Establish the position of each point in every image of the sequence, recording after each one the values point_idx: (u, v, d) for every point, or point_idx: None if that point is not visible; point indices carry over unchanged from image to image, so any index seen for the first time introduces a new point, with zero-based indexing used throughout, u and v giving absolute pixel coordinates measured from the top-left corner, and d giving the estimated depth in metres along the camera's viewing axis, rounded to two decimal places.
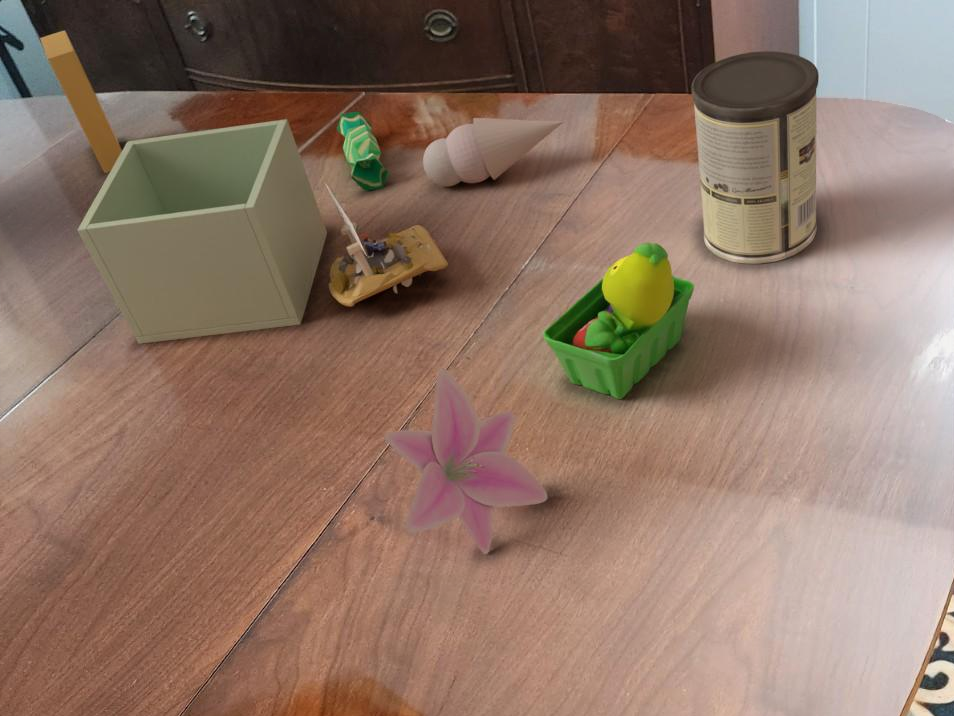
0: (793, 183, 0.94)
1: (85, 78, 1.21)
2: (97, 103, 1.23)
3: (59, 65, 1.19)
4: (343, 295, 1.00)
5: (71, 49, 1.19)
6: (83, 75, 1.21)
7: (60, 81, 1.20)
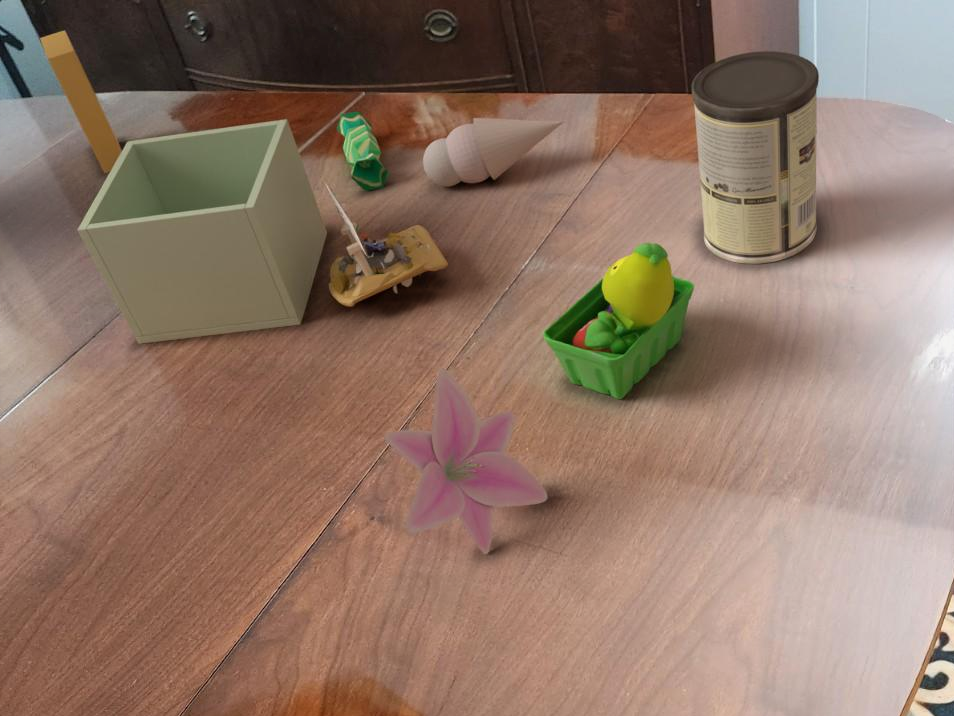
0: (793, 183, 0.94)
1: (85, 78, 1.21)
2: (97, 103, 1.23)
3: (59, 65, 1.19)
4: (343, 295, 1.00)
5: (71, 49, 1.19)
6: (83, 75, 1.21)
7: (60, 81, 1.20)
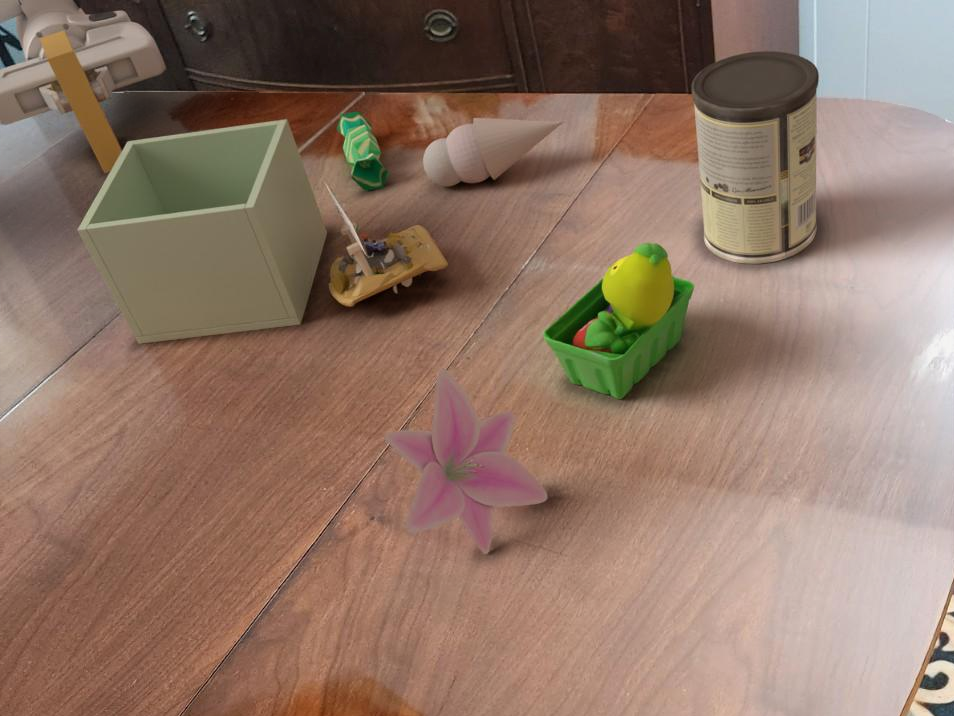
0: (793, 183, 0.94)
1: (85, 78, 1.21)
2: (97, 103, 1.23)
3: (58, 65, 1.19)
4: (343, 295, 1.00)
5: (70, 49, 1.19)
6: (82, 75, 1.21)
7: (60, 81, 1.20)
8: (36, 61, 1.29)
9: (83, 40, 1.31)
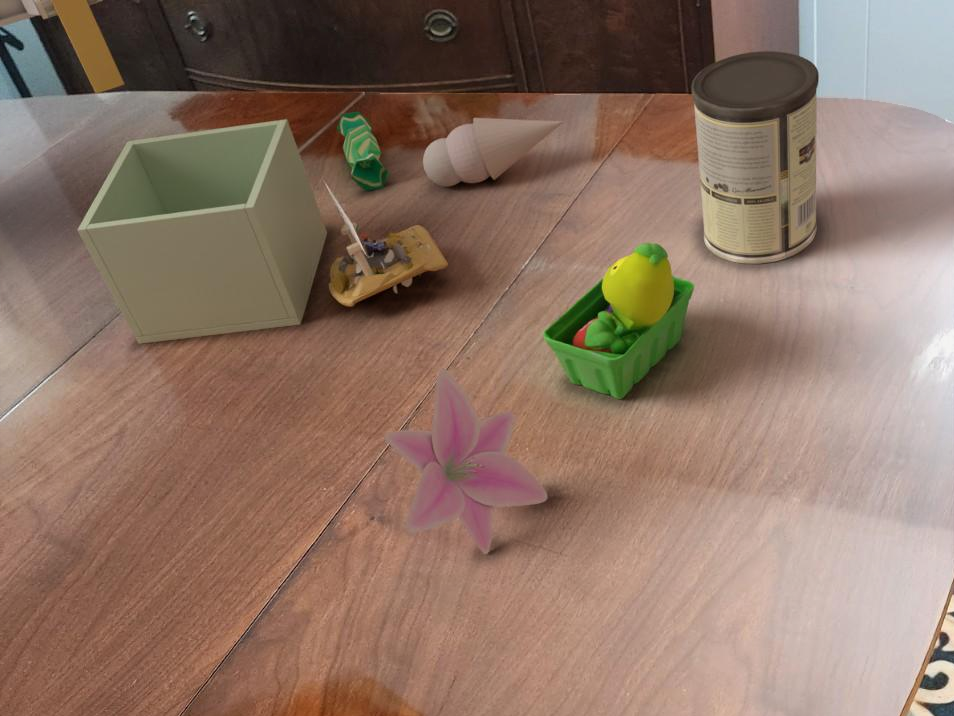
0: (793, 183, 0.94)
1: None
2: (86, 4, 1.01)
3: None
4: (343, 295, 1.00)
5: None
6: None
7: None
8: None
9: None
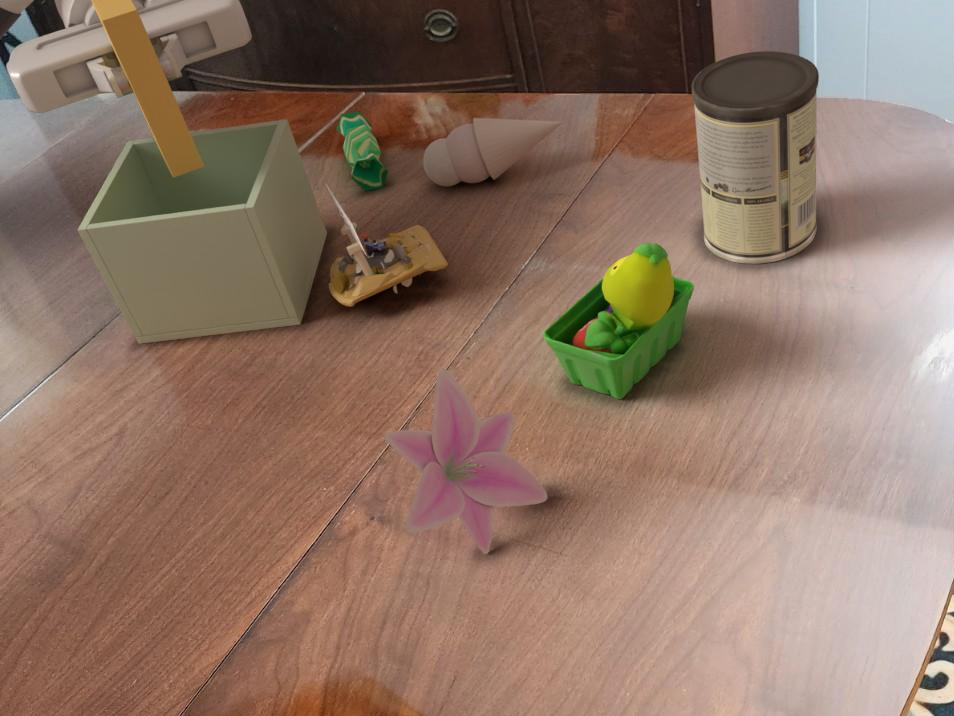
0: (793, 183, 0.94)
1: (151, 48, 0.89)
2: (166, 82, 0.91)
3: (117, 29, 0.87)
4: (343, 295, 1.00)
5: (133, 7, 0.87)
6: (149, 44, 0.88)
7: (118, 52, 0.88)
8: (81, 28, 0.97)
9: (142, 0, 0.99)
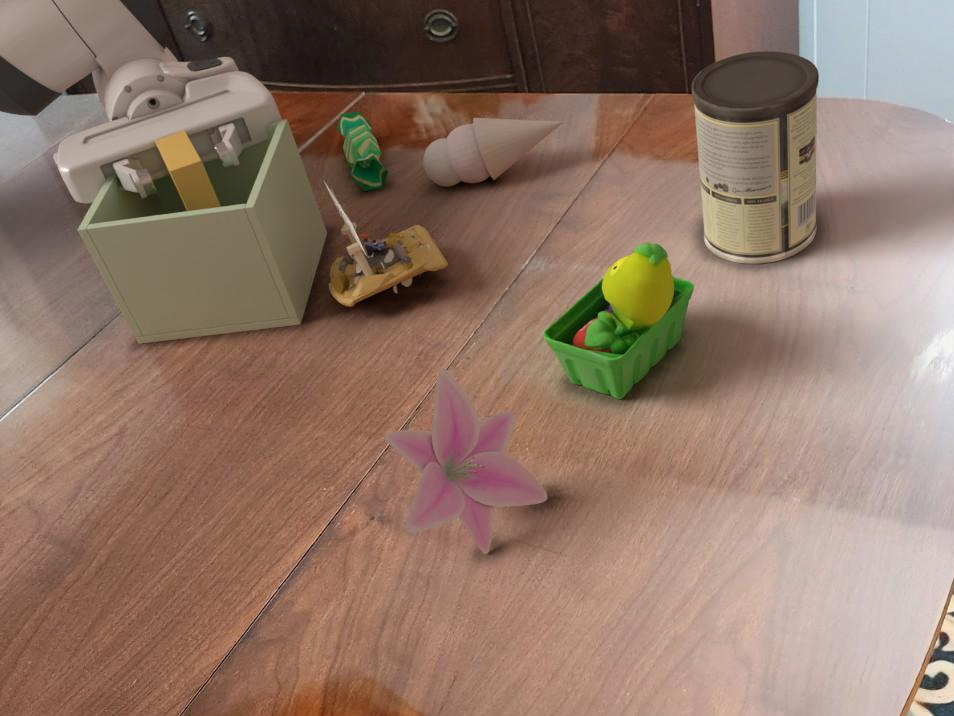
0: (793, 183, 0.94)
1: (213, 192, 0.98)
2: None
3: (183, 178, 0.96)
4: (343, 295, 1.00)
5: (198, 158, 0.96)
6: (211, 189, 0.98)
7: (183, 197, 0.97)
8: (124, 122, 1.03)
9: (181, 94, 1.05)
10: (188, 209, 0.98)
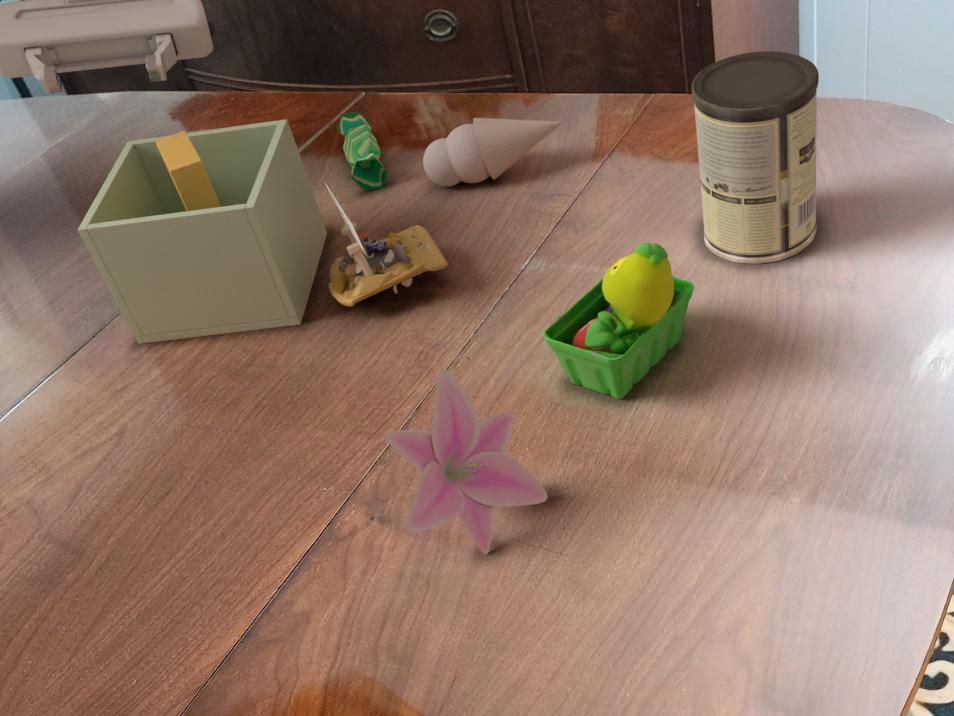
0: (793, 183, 0.94)
1: (213, 192, 0.98)
2: None
3: (183, 178, 0.96)
4: (343, 295, 1.00)
5: (198, 158, 0.96)
6: (211, 189, 0.98)
7: (183, 197, 0.97)
8: (60, 3, 1.07)
9: None
10: (188, 209, 0.98)
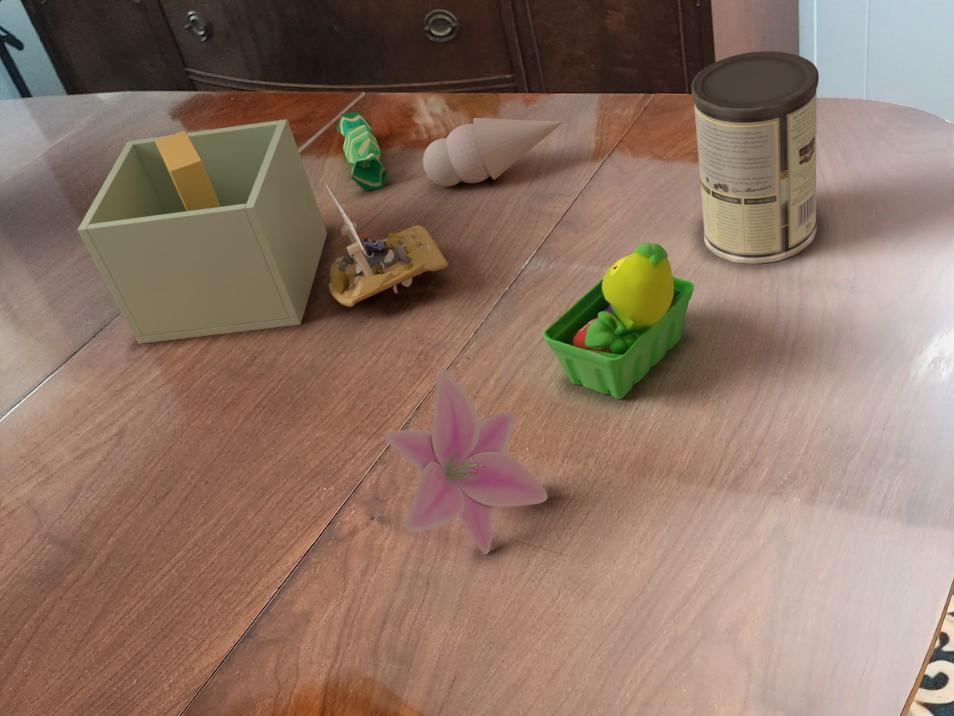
0: (793, 183, 0.94)
1: (213, 192, 0.98)
2: None
3: (183, 178, 0.96)
4: (343, 295, 1.00)
5: (198, 158, 0.96)
6: (211, 189, 0.98)
7: (183, 197, 0.97)
8: None
9: None
10: (188, 209, 0.98)
